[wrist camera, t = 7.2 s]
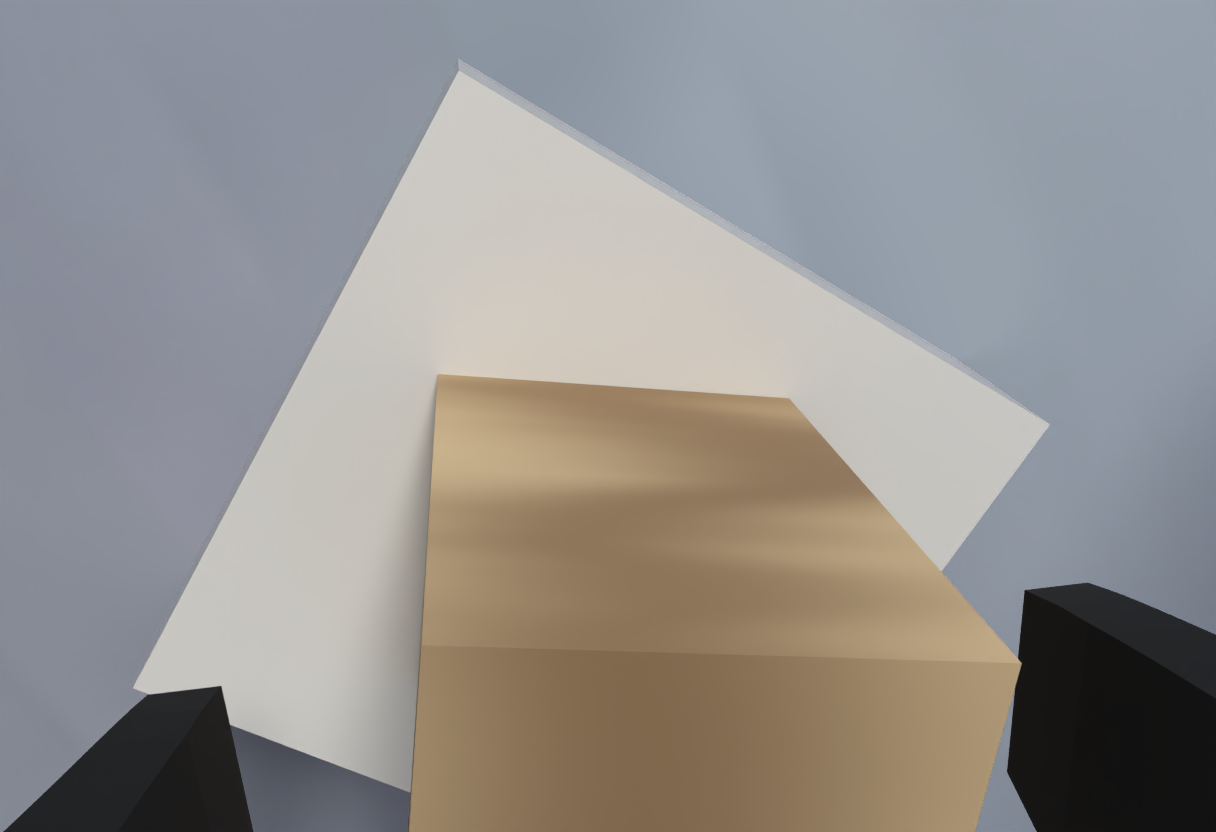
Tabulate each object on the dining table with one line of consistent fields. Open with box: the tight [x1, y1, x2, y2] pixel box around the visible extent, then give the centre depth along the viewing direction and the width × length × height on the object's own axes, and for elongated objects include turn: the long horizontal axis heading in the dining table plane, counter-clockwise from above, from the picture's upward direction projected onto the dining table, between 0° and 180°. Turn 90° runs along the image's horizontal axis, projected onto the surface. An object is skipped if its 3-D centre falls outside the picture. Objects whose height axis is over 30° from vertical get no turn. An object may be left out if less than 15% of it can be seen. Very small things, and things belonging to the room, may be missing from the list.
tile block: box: [133, 59, 1050, 792], centre depth 14 cm, size 8×8×3 cm
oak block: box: [408, 374, 1022, 832], centre depth 10 cm, size 4×4×6 cm
